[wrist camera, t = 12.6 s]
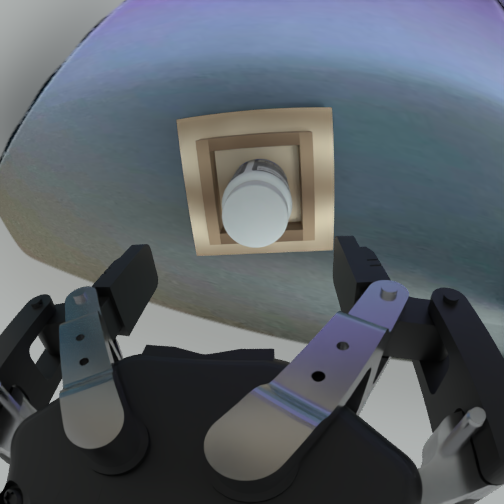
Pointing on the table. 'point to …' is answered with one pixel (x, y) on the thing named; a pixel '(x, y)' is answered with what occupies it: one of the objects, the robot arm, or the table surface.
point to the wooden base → (260, 147)
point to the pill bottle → (257, 204)
